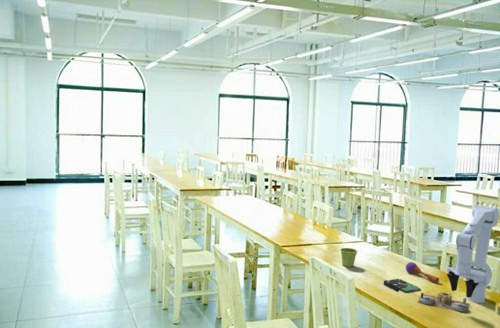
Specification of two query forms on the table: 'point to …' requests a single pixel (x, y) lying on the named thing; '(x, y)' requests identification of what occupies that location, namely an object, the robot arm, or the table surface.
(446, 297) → the brass gear
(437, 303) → the gear board
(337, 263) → the table surface
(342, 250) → the plant pot
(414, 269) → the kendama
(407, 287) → the disk drive
